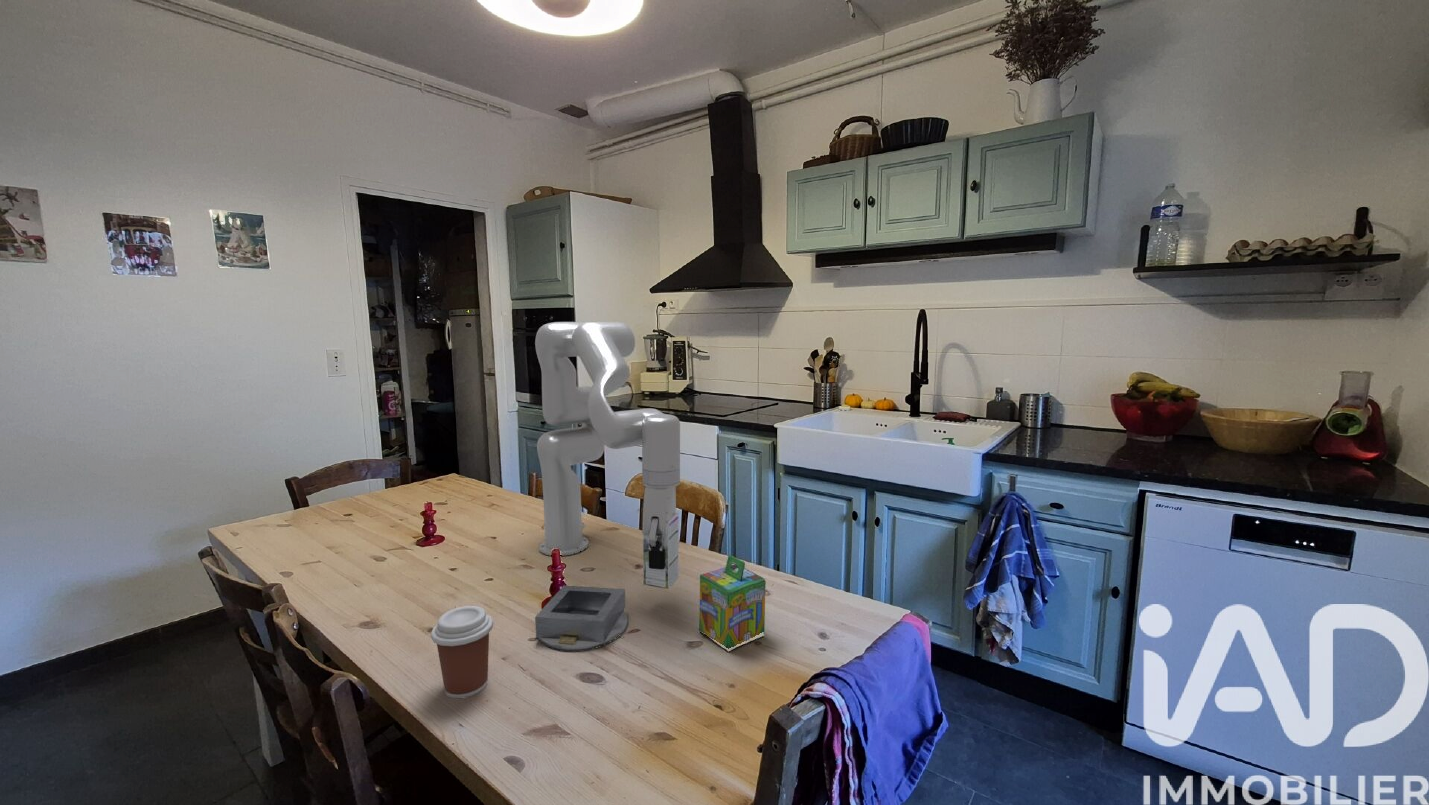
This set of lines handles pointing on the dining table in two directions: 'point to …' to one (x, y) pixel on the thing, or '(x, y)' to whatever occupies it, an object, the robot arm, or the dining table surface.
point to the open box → (582, 618)
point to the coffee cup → (463, 649)
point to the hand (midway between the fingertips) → (661, 560)
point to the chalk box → (732, 603)
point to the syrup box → (671, 569)
